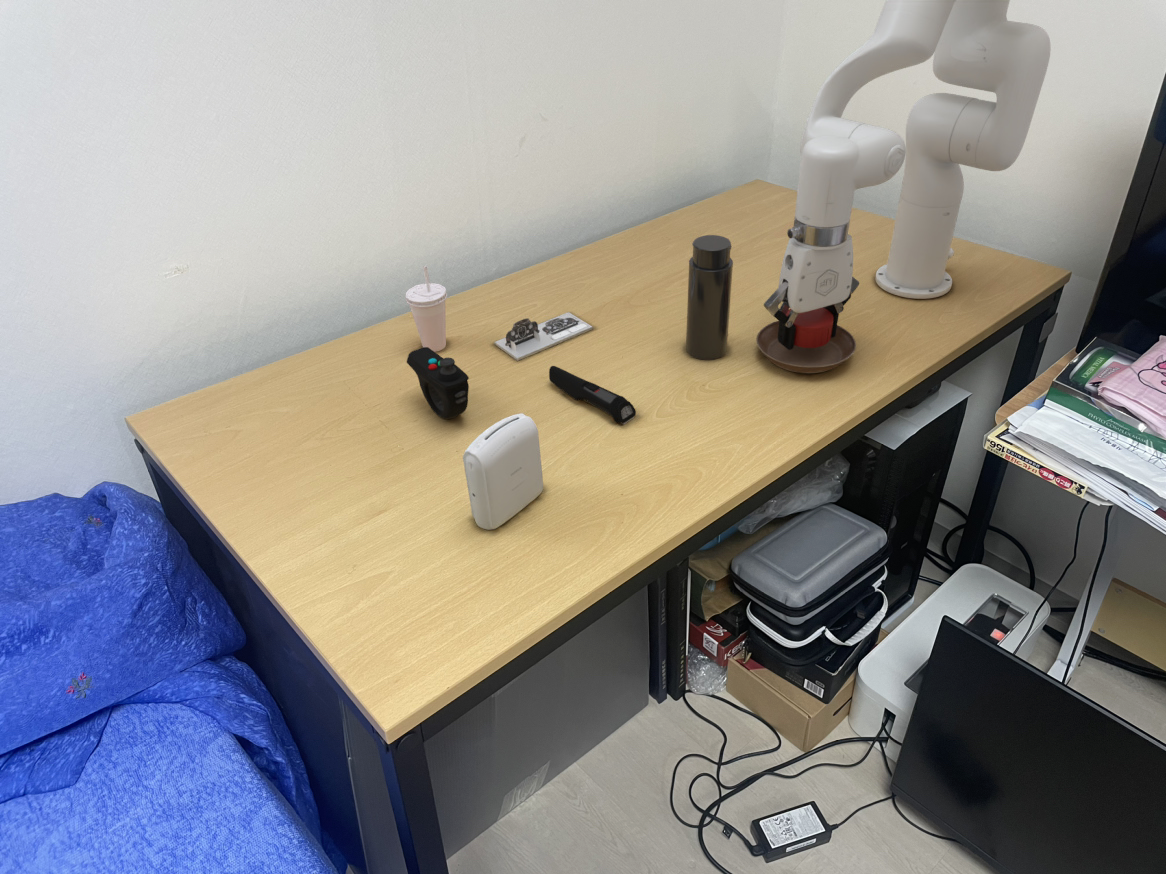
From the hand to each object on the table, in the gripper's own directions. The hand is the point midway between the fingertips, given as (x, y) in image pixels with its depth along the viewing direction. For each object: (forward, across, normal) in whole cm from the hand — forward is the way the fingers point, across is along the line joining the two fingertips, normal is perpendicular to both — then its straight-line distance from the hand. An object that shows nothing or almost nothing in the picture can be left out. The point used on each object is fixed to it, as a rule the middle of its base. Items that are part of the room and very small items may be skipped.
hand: (806, 338), depth 133 cm
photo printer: (+3, -53, -13) cm, 55 cm away
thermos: (+3, -12, +8) cm, 15 cm away
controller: (+3, -55, +11) cm, 56 cm away
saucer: (+3, 0, 0) cm, 3 cm away
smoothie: (+3, -51, +30) cm, 59 cm away
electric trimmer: (+3, -35, +3) cm, 35 cm away
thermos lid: (0, 0, 0) cm, 0 cm away
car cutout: (+3, -34, +24) cm, 41 cm away
